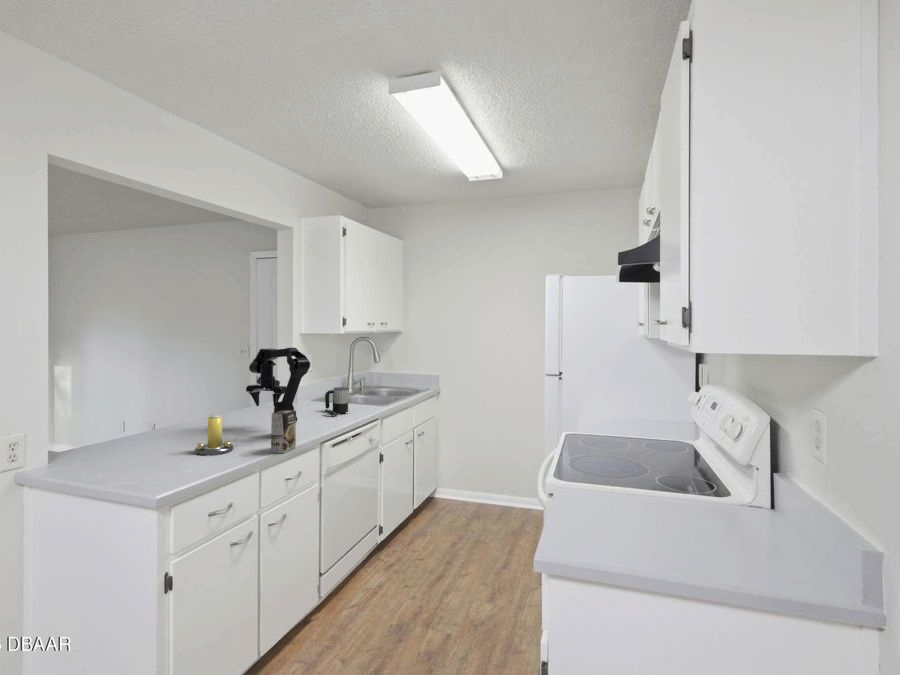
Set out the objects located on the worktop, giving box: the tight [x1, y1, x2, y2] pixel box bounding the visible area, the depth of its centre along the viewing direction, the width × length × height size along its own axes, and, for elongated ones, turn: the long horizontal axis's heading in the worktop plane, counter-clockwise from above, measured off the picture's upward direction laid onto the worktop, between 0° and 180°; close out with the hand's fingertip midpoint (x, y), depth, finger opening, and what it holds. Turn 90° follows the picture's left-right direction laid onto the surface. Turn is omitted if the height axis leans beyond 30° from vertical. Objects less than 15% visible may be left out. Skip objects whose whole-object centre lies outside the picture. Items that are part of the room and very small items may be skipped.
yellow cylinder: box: [207, 414, 223, 449], centre depth 194 cm, size 5×5×13 cm
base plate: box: [194, 440, 234, 456], centre depth 194 cm, size 14×14×4 cm
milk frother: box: [324, 386, 350, 417], centre depth 276 cm, size 14×16×15 cm
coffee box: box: [270, 409, 297, 454], centre depth 197 cm, size 9×6×16 cm
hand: (266, 406), depth 230 cm, fingers open, 9 cm apart
